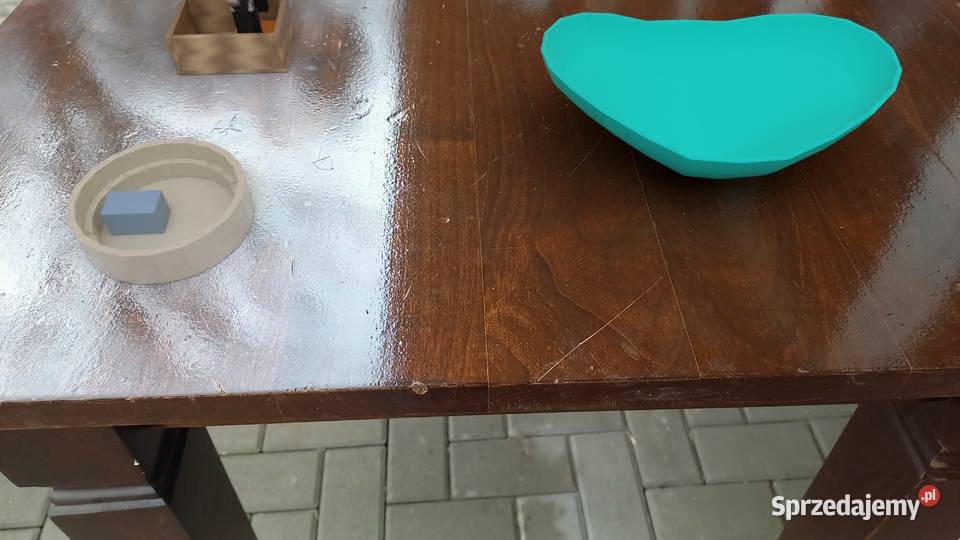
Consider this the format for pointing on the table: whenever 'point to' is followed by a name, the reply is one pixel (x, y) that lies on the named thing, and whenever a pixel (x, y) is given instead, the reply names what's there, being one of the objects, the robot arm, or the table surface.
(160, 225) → the blue rectangular block
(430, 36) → the table surface
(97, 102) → the table surface
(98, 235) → the bowl
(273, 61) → the holder
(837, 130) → the table top decor
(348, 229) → the table surface
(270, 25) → the orange rectangular block
